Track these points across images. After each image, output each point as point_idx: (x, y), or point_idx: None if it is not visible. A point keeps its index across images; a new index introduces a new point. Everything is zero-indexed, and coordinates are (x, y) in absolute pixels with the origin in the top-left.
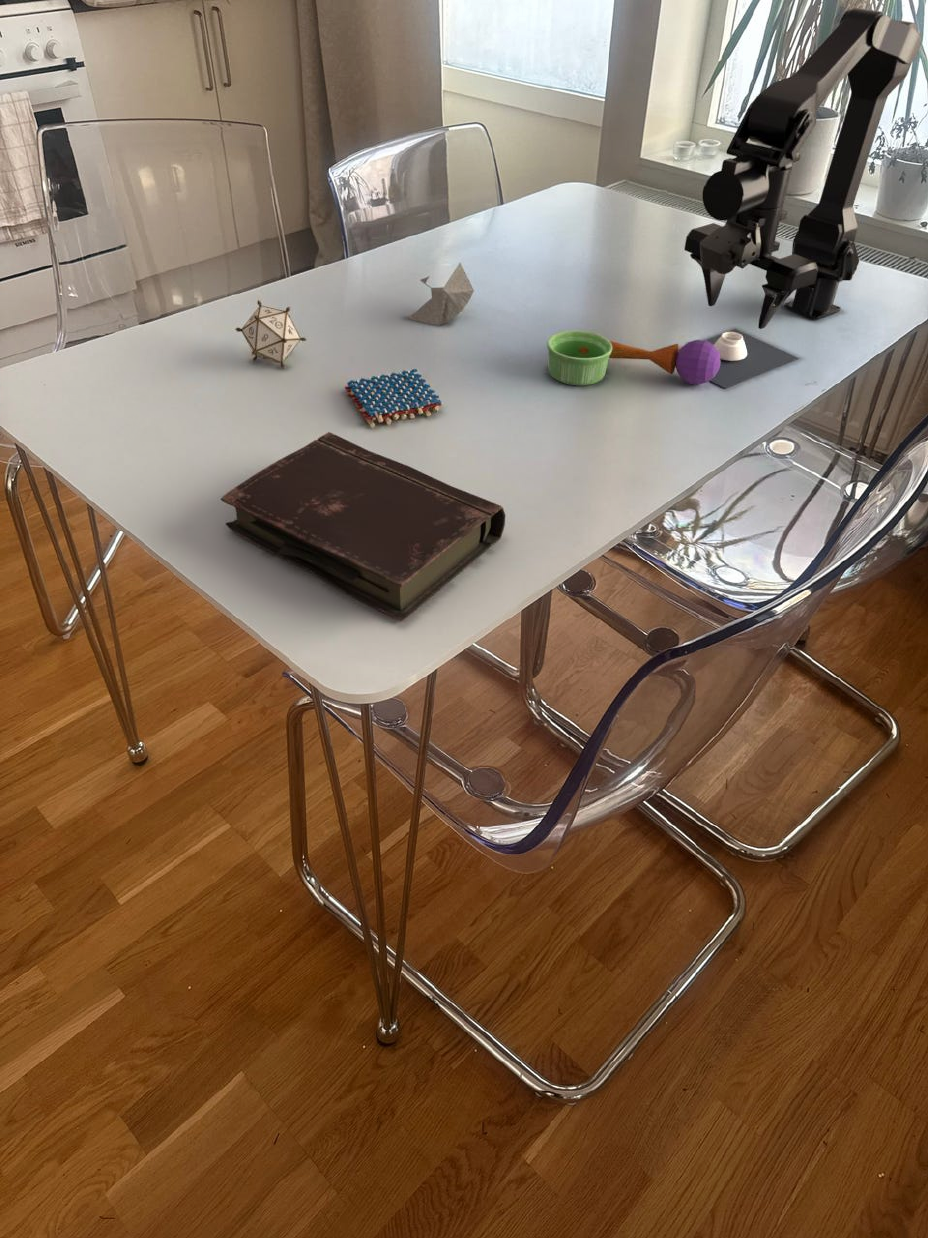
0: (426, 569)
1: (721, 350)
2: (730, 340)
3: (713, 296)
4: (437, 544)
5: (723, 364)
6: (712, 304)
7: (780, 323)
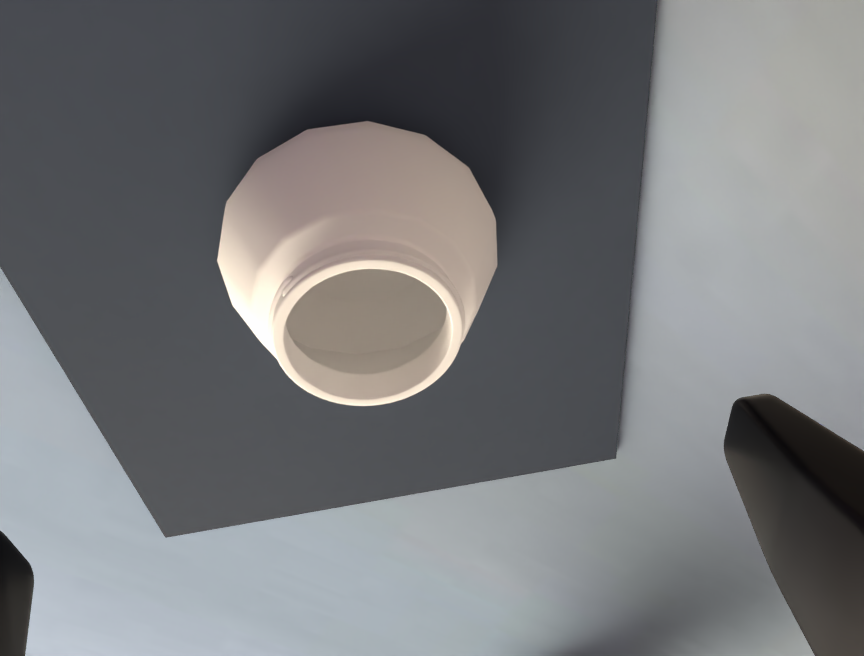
0: None
1: (324, 173)
2: (303, 280)
3: (792, 505)
4: None
5: (236, 111)
6: (735, 428)
7: (527, 614)
